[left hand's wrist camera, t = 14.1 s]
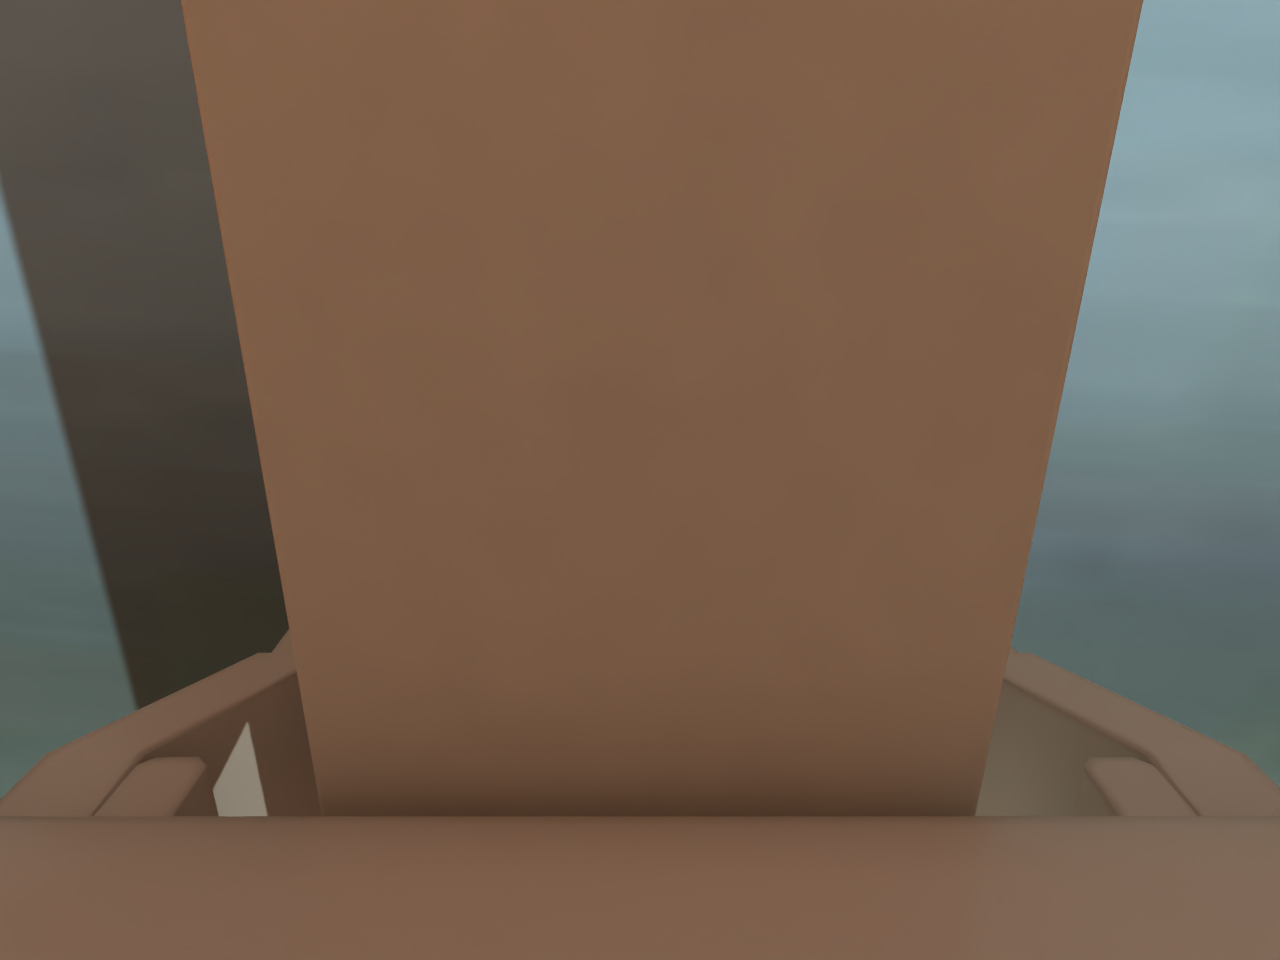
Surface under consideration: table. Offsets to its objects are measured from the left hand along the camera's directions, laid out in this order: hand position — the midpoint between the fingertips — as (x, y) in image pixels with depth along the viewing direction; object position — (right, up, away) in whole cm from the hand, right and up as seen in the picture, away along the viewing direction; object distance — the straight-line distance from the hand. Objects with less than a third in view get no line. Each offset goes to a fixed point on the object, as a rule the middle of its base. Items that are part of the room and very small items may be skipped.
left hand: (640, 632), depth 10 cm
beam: (0, -23, +12) cm, 26 cm away
